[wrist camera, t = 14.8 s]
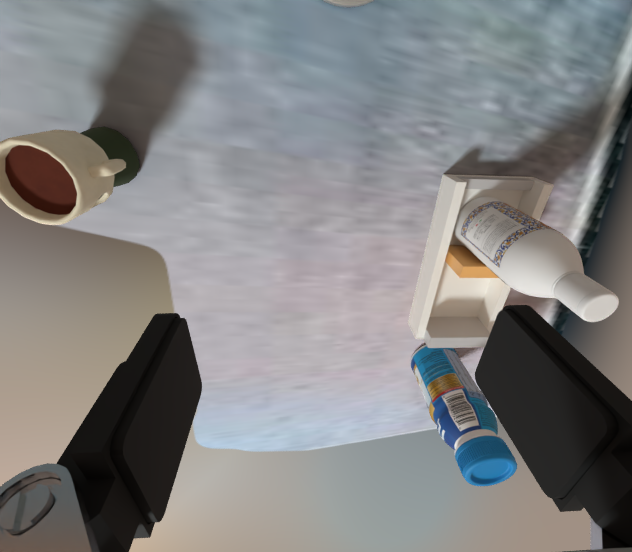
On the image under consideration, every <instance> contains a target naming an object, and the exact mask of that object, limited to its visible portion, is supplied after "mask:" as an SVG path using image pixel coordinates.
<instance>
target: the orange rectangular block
mask: <svg viewBox="0 0 632 552" xmlns="http://www.w3.org/2000/svg"><path fill="white" fill-rule="evenodd" d="M445 262H446V263H447V264H448V265H449V266H450V267H451V268H452V270H453V271H454V272H455V273H456V274H457V275H458V276H459V278H499V277H498V276H497V275H495V274H494V273H493V272H492V271H491V270H490V269H489V268H488V267H487V266H486V265H485V264H483V263H482V262H481V261H480V260H479V259H478V258H477V257H476V256H475V255H474V254H473V253H472V252H470V251H469V250H468V248H467V247H465V246H464V245H449V248H448V252H447V255H446V259H445Z"/></svg>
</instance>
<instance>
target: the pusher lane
mask: <svg viewBox="0 0 632 552" xmlns="http://www.w3.org/2000/svg"><path fill="white" fill-rule="evenodd" d="M553 186H554V185H553V184H550V183H548V182H545V181H542V180H540V179H537V178H534V177H520V176H486V175H451V174H443V176H442V180H441V185H440V189H439V193H438V197H437V202H436V206H435V210H434V214H433V218H432V223H431V227H430V231H429V235H428V240H427V244H426V248H425V252H424V256H423V261H422V265H421V269H420V273H419V277H418V282H417V286H416V290H415V294H414V299H413V303H412V307H411V311H410V315H409V320H408V324H409V326H410V328H411V330H412V332H413V334H414V337H415V339H424V341H425V343H426V345H427V347H428V348H477V347H485V346H486V343H487V340H488V338H489V335H490V332H491V330H492V327H493V325H494V322H495V319H496V317H497V314H498V313H499V312H500V311H502V308H503V306H504V304H505V301H506V299H507V296H508V294H509V292H510V289H511V287H510V286H508V285H507V284H505V283H504V282H503V281H502V280H501V279H500V278H459V276H458V275H457V274H456V273H455V272H454V271H453V270H452V268H451V267H450V266H449V265H448V264H447V263H446V262H445V259H446V255H447V252H448V248H449V245H463V244H462V243H461V242H460V241H459V240H458V239H457V237H456V235H455V232H454V226H455V223H456V219H457V216H458V213H459V212H460V210H461V209H462V208H463V207H464V206H465V205H466V204H468V203H469V202H471V201H473V200H475V199H477V198H480V197H493V198H496V199H498V200H500V201H502V202H504V203H506V204H508V205H510V206H512V207H514V208H516V209H517V210H519V211H521V212H523V213H525V214H527V215H529V216H530V217H532V218H534V219H536V220H538V221H539V220H540V217H541V215H542V212H543V210H544V208H545V205H546V203H547V200H548V198H549V196H550V193H551V191H552V188H553Z"/></svg>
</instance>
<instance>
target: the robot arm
mask: <svg viewBox="0 0 632 552" xmlns="http://www.w3.org/2000/svg"><path fill="white" fill-rule="evenodd" d="M323 1H324V2H327V3H329V4H332V5H334V6H338V7H346V8H350V7H359V6H362V5H365V4H368V3H370V2H373V1H374V0H323ZM475 379H476V382H477V385H478V386H479V388H480V389H481V391H482V393H483V394H484V396H485V398H486V399H487V401H488V402H489V404H490V406H491V407H492V409H493V411H494V412H495V414H496V415H497V417H498V419H499V420H500V422H501V424H502V425H503V427H504V428H505V430H506V432H507V433H508V435H509V437H510V438H511V440H512V441H513V443H514V445H515V446H516V448H517V450H518V451H519V453H520V454H521V456H522V458H523V459H524V461H525V463H526V464H527V466H528V468H529V469H530V471H531V472H532V474H533V476H534V477H535V479H536V481H537V482H538V484H539V485H540V487H541V489H542V490H543V491H544V493H545V494H546V495H547V496H548V497H550V498H552V499H553V501H554V502H555V504H556V505H557V507H558V509H559V510H560V512H564V511H580V510H582V509H583V508H585V509H586V511H587V512H588V513H589V515H590V516H591V550H582V551H581V550H580V551H564V552H632V401H631V400H630V399H629V398H628V397H627V396H626V395H625V394H624V393H622V392H621V391H620V390H619V389H618V388H617V387H616V386H615V385H614V384H613V383H612V382H611V381H610V380H608V379H607V378H606V377H605V376H604V375H603V374H602V373H601V372H600V371H599V370H598V369H596V367H595V366H593V364H591V363H590V362H589V361H588V360H587V359H586V358H585V357H584V356H583V355H582V354H581V353H580V352H578V351H577V350H576V349H575V348H574V347H573V346H572V345H571V344H570V343H569V342H568V341H567V340H566V339H565V338H563V337H562V336H561V335H560V334H559V333H558V332H557V331H556V330H555V329H554V328H553V327H552V326H551V325H550V324H549V323H547V322H546V321H545V320H544V319H543V318H542V317H541V316H540V315H539V314H538V313H537V312H536V311H535V310H533V309H532V308H531V307H530V306H527V305H508V306H505V307H504V308H503V310H502V311H500V312H499V313H498V314H497V317H496V319H495V322H494V325H493V327H492V330H491V332H490V335H489V338H488V340H487V343H486V346H485V348H484V351H483V353H482V356H481V359H480V361H479V364H478V366H477V369H476V372H475ZM201 391H202V382H201V378H200V374H199V370H198V365H197V361H196V357H195V353H194V349H193V345H192V341H191V337H190V333H189V329H188V325H187V321H186V319H185V318H180V316H179V314H177V313H168V314H167V313H166V314H155V315H154V317H153V318H152V320H151V321H150V323H149V325H148V326H147V328H146V329H145V331H144V333H143V334H142V336H141V338H140V339H139V341H138V343H137V344H136V346H135V347H134V349H133V351H132V352H131V354H130V355H129V357H128V359H127V361H125V362H123V363H121V364H120V365H119V366H118V367H117V369H116V370H115V372H114V373H113V375H112V377H111V378H110V380H109V381H108V383H107V385H106V386H105V388H104V389H103V391H102V393H101V394H100V396H99V397H98V399H97V400H96V402H95V404H94V405H93V407H92V408H91V410H90V412H89V413H88V415H87V416H86V418H85V419H84V421H83V423H82V424H81V426H80V427H79V429H78V430H77V432H76V434H75V435H74V437H73V438H72V440H71V442H70V443H69V445H68V446H67V448H66V450H65V451H64V453H63V454H62V456H61V457H60V459H59V461H58V462H57V464H43V465H40V466H35V467H32V468H30V469H28V470H26V471H24V472H21V473H19V474H18V475H16V476H15V477H13V478H12V479H10V480H9V481H7V482H6V483H4V484H3V485H2V486H1V487H0V552H129V549H130V547H131V544H132V541H133V539H134V538H148V537H150V536H151V533H152V530H153V527H154V524H155V522H160V521H161V520H162V518H163V516H164V513H165V510H166V507H167V504H168V500H169V497H170V493H171V491H172V487H173V484H174V481H175V477H176V474H177V471H178V467H179V464H180V461H181V458H182V454H183V451H184V448H185V445H186V441H187V438H188V435H189V431H190V428H191V425H192V422H193V418H194V415H195V412H196V409H197V405H198V402H199V399H200V395H201Z"/></svg>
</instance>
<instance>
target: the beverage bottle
mask: <svg viewBox="0 0 632 552" xmlns="http://www.w3.org/2000/svg"><path fill="white" fill-rule="evenodd" d="M411 368H412V370H413V372H414V374H415V377H416V379H417V381H418V384H419V386H420V389H421V391H422V394H423V396H424V398H425V401H426V403H427V406H428V408H429V413H430V416H431V418H432V420H433V421H434V423H435V424H436V425H437V429H438V432H439V434H440V436H441V437H442V439H443V440H444V441H445V442H446V443H447V444H448V445H449V446H450V447H451V448H453V449H454V450H455V458H456V461H457V463H458V466H459V468H460V470H461V473H462V475H463V477H464V478H465V480H466V481H467V482H468V483H470V484H472V485H475V486H489V485H494V484H497V483H500V482H502V481H505V480H506V479H508V478H509V477H511V476H512V475H513V474H514V473H515V471H516V469H517V463H516V461H515V458H514V456H513V455H512V453H511V451H510V450H509V448H508V447H507V445H506V443H505V442H504V441H503V440H502V439H501V438H500V437H499V436H497V433H498V428H497V421H496V417H495V414H494V412H493V411H492V410H491V409H490V408H489V407H488V403H487V400H486V398H485V396H484V395H483V393H482V392H481V391H480V390H479V389H478V387H477V386H476V384H475V382H474V381H473V379H472V378H471V376H470V374H469V373H468V371H467V370H466V368H465V366H464V365H463V363H462V362H461V360H460V358H459V357H458V355H457V353H456V351H455V350H454V348H428V347H427V345H424V346H422V347H420V348H419V349H418V350H417V351H416V352H415V353H414V354H413V356H412V358H411Z"/></svg>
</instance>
